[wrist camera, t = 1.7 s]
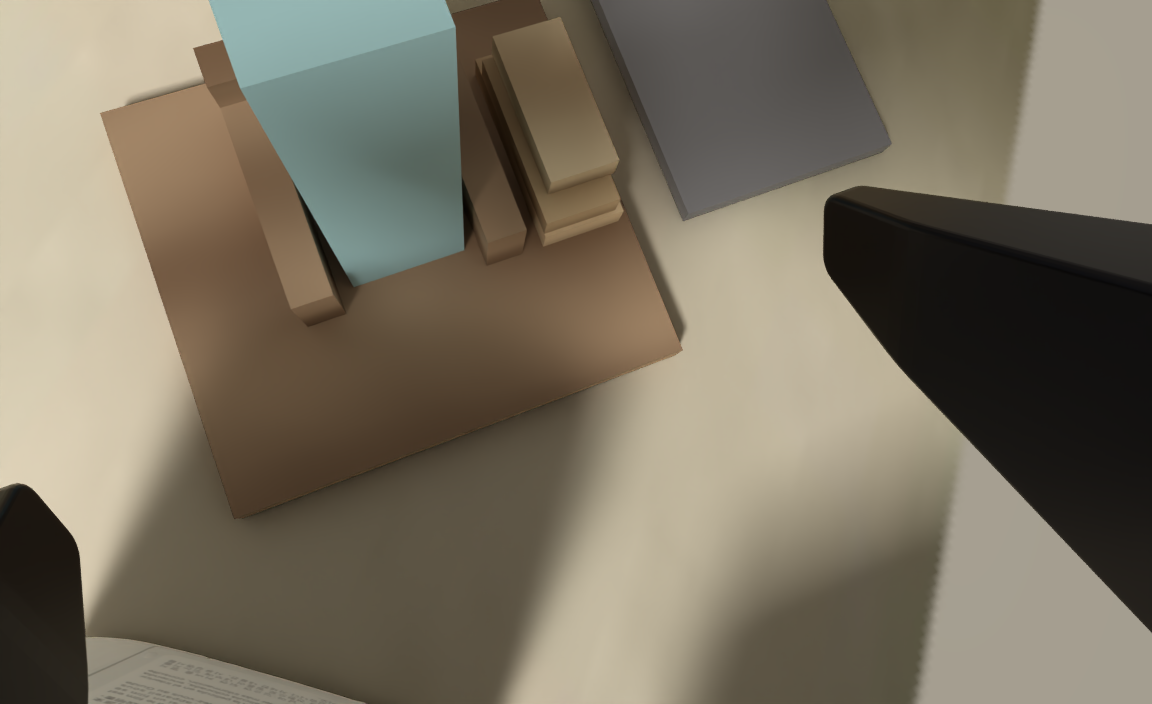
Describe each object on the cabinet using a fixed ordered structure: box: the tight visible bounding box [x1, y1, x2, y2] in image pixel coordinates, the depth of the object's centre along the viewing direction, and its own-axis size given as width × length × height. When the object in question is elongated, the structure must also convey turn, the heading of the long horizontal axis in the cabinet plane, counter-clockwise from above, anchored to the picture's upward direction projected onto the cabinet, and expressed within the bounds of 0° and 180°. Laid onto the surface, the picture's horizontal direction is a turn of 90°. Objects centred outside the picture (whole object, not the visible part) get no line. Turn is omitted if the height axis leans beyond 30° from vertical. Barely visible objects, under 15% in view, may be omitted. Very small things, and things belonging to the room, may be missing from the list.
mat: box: [591, 0, 892, 221], centre depth 24 cm, size 8×7×1 cm
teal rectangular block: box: [209, 0, 464, 287], centre depth 16 cm, size 4×3×10 cm
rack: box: [100, 0, 683, 519], centre depth 20 cm, size 11×12×4 cm
